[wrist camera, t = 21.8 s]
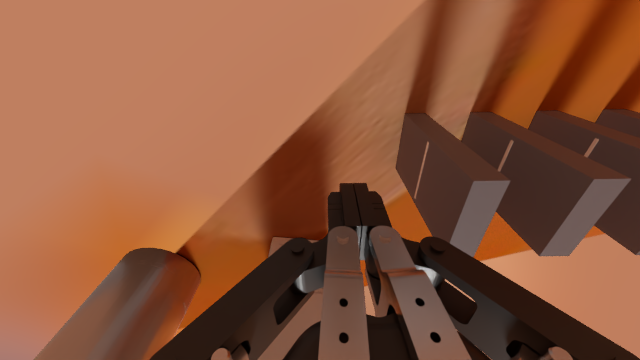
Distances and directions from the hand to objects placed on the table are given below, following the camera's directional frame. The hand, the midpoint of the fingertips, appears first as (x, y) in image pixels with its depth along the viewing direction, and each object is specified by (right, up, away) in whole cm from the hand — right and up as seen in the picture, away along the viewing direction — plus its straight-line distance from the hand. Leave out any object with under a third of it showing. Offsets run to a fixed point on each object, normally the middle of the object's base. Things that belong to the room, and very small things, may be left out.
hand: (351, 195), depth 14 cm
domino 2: (+11, +4, +6) cm, 13 cm away
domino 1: (+6, +4, +6) cm, 10 cm away
